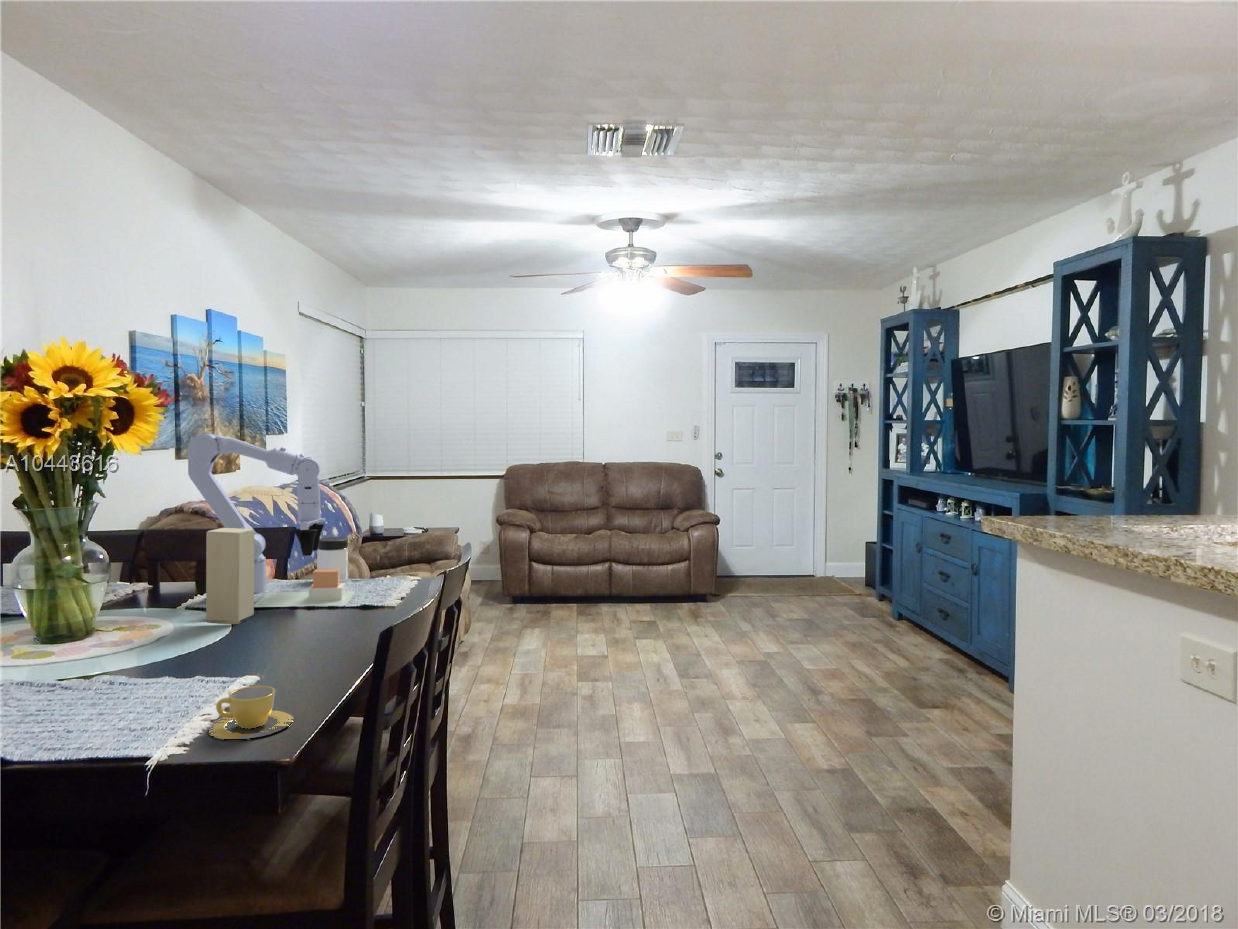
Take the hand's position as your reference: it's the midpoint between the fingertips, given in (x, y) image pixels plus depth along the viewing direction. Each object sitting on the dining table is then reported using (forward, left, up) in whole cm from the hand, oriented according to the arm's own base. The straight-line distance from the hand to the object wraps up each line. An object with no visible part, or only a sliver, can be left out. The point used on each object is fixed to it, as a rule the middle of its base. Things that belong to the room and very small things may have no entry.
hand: (310, 552), depth 216 cm
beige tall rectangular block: (-12, -30, -11) cm, 34 cm away
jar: (+3, +14, -11) cm, 18 cm away
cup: (+10, -97, -11) cm, 98 cm away
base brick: (+6, -12, -10) cm, 17 cm away
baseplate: (+1, -13, -10) cm, 17 cm away
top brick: (+6, -12, -7) cm, 15 cm away
